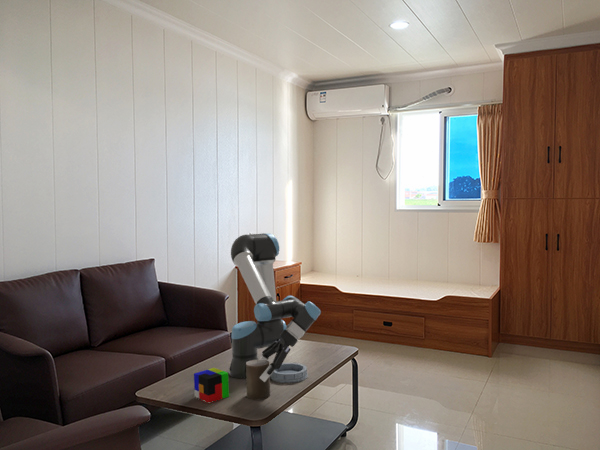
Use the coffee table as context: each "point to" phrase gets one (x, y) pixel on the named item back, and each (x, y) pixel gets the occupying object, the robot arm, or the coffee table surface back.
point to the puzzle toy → (211, 384)
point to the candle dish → (290, 373)
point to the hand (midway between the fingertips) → (258, 374)
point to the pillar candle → (257, 379)
